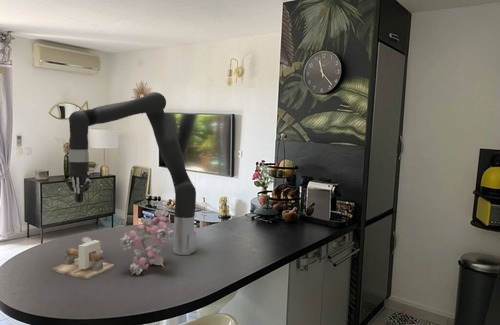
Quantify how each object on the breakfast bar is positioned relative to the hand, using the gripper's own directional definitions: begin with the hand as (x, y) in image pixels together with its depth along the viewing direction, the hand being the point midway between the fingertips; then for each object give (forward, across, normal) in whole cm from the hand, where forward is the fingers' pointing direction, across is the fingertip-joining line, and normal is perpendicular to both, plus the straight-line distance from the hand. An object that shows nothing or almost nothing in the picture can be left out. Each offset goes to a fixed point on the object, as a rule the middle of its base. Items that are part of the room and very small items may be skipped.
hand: (79, 202), depth 150 cm
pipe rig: (+26, -7, +5) cm, 27 cm away
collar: (+23, -10, +5) cm, 26 cm away
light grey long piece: (+26, +5, -12) cm, 29 cm away
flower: (+26, -30, -5) cm, 40 cm away
